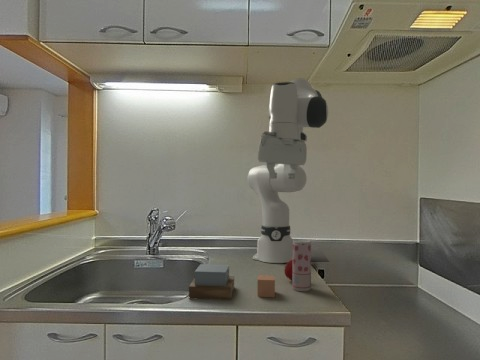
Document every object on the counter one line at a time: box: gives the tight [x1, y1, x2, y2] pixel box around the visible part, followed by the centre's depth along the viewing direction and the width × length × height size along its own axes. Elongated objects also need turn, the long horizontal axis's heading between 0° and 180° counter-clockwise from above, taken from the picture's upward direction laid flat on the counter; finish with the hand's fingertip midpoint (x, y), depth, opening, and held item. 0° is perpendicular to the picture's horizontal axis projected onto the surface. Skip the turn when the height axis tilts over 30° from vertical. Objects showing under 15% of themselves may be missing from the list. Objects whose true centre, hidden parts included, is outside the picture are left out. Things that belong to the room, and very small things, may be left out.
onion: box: [283, 258, 293, 282], centre depth 130 cm, size 6×6×8 cm
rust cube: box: [257, 274, 276, 298], centre depth 117 cm, size 5×5×5 cm
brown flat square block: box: [188, 275, 235, 301], centre depth 118 cm, size 12×12×4 cm
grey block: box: [194, 263, 230, 286], centre depth 118 cm, size 9×9×4 cm
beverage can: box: [291, 238, 312, 292], centre depth 122 cm, size 6×6×15 cm
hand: (282, 178), depth 121 cm, fingers open, 8 cm apart
